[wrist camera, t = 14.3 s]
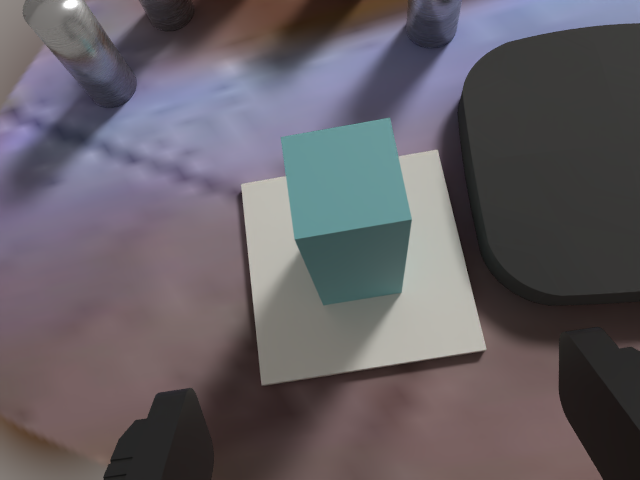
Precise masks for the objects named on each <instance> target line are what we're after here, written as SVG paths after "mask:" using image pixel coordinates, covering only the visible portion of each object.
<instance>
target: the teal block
mask: <svg viewBox="0 0 640 480" xmlns="http://www.w3.org/2000/svg"><path fill="white" fill-rule="evenodd" d="M281 143H282V150H283V158H284V165H285V173H286V180H287V187H288V195H289V202H290V210H291V217H292V225H293V232H294V239H295V242H296V244H297V246H298V249H299V251H300V253H301V255H302V258H303V260H304V262H305V265H306V267H307V269H308V271H309V274H310V276H311V278H312V281H313V283H314V285H315V287H316V290H317V292H318V294H319V297H320V299H321V301H322V303H323V305H329V304H336V303H342V302H348V301H354V300H360V299H366V298H372V297H378V296H384V295H391V294H397V293H402V287H403V279H404V272H405V265H406V258H407V251H408V244H409V237H410V229H411V222H412V217H411V213H410V208H409V204H408V199H407V194H406V190H405V185H404V180H403V176H402V171H401V167H400V162H399V157H398V153H397V148H396V143H395V139H394V134H393V129H392V125H391V120H390V118H385V119H379V120H374V121H368V122H363V123H357V124H352V125H346V126H341V127H335V128H329V129H324V130H318V131H313V132H307V133H302V134H296V135H290V136H285V137H281Z"/></svg>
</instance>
